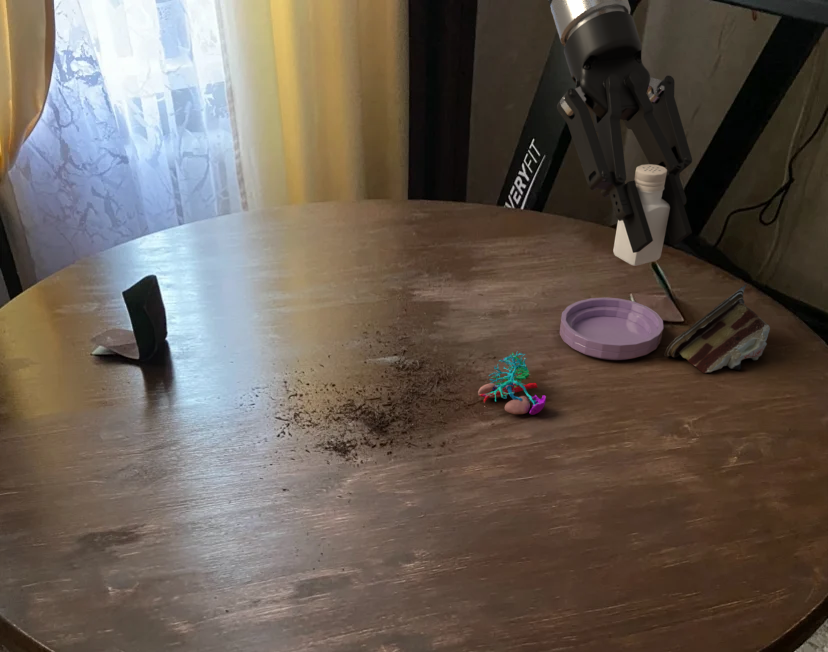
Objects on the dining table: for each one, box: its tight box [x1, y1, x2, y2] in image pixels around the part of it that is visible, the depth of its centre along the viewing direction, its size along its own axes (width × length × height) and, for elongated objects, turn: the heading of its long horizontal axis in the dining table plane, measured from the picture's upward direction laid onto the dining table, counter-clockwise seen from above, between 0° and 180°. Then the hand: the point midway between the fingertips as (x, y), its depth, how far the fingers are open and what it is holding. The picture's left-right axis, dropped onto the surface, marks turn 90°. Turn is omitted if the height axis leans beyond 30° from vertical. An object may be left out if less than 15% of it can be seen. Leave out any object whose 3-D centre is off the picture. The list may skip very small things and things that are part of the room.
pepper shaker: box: [612, 163, 670, 267], centre depth 89 cm, size 4×4×10 cm
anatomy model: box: [477, 350, 547, 416], centre depth 91 cm, size 5×8×7 cm
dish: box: [559, 296, 664, 361], centre depth 103 cm, size 12×12×2 cm
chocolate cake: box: [664, 284, 771, 374], centre depth 99 cm, size 10×7×12 cm
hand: (662, 242), depth 88 cm, fingers closed on pepper shaker, 4 cm apart
